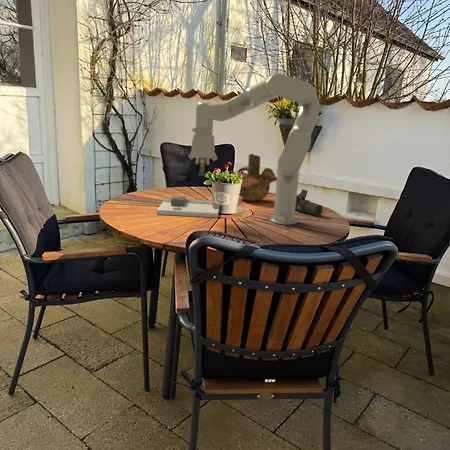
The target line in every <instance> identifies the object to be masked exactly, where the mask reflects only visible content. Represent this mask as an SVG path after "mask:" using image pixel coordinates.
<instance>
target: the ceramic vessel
mask: <svg viewBox="0 0 450 450" xmlns="http://www.w3.org/2000/svg"><path fill="white" fill-rule="evenodd" d="M247 162H248V165H247V166H243V167H241V168H239V169H238V170H237V172H240V171H241V170H243V172H244V171H247V175H245V176H242V177H243V181H242V184H241V190H240V195H239V196H240V197H241V198H242V199H244V200H245V201H247V202H257V201H258V202H259V201H260V200H263V199H265V198H266V197H267V195H268V194H269V192H270V188H271V187H270V184H271V183H273V182H276V181H277V175H276V174H275V173H274V171H273V170H272V168H270V167H269V168H268V167H267V168H264V169H263V170H262V172H261V171H260V170H261V169H260V168H261V156H260V155H257V154H253V153H250V154H248V161H247ZM260 172H261V174H260Z"/></svg>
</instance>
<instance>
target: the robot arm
mask: <svg viewBox="0 0 450 450" xmlns="http://www.w3.org/2000/svg"><path fill="white" fill-rule="evenodd" d="M278 97H280V98H283V99H285V100H288V101H292V102H294V103H297V104H298V107H299V108H298V113H297V116H296V117H295V121H294V123H293V126H292V127H291V130H290V132H289V134H288V136H287V139H286V142H285V144H284V147H283V149H282V152H281V154H280V155H279V156H278V160H277V169H276V177H277V181H275V182H276V183H275V195H274V196H275V197H274V205H273V215H272V216H270V217H269V221H270V222H271V223H273V224H274V223H275V224H279V225H283V226H284V225H286V226H292V225H296V224H297V223H298V221H299V220H298V218H297V217H295V216H296V215H295V214H296V210H295V207H296V197H297V195H298V188H299V176H300V170H301V167H302V165H303V162H304V160H305V158H306V157H307V154H308V151H309V149H310V146H311V143H312V137H311V136H312V133H313V131H314V129H315V127H316V124H317V120H318V118H319V115H320V110H321V109H320V108H321V106H320V100H319V98H318V95H317V94H316V92H315V88H314V86H313V84H311V83H310V82H307V81H305V80H301V79H298V78H295V77H291V76H288V75H286V74H283V73H280V72H277V73H273V74H271V75H270V76H269V77H268V78H266V79H264V80H262V81H260V82H258V83H256V84H254V85H252V86H249V87H248V88H246V89H244V91H243V92H241V93H240V94H238V95H237V96H234V97H233V98H231V99H229V100H227V101H225V102H221V103H218V102H217V103H212V102H198V103H197V104H196V109H195V110H196V111H195V127H194V128H191V131H192V132H193V133H194V134H193V135H192V141H191V142H192V143H191V151H190V152H189V154H188V155H187V156H188V158H189V159H190V160H192V161H193V162H194V164H195V171H196V174H199V159H200V158H206V165H205V175H207V174H208V173H209V171H210V168H209V166H210V164H211V163H212V162H215V161H216V160H218V156H217V153H216V152H215V148H216V147H215V135H213V132H214V131H213V130H214V129H213V128H214V121H218V122H225V121H229V120H230V119H231V120H232V118H235V117H237V116H238V115H241V114H243V113H245V112H247V111H250V110H252V109H255V108H256V107H257V108H258V107H259V106H261V105H263V104H265V103H267V102H270V101H271V100H274V99H276V98H278Z"/></svg>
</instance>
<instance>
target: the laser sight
mask: <svg viewBox="0 0 450 450" xmlns="http://www.w3.org/2000/svg"><path fill="white" fill-rule="evenodd" d="M307 195H308V190H307V189H303V188H302V189H301V191H300V193H299V194H297V197H296V207H295V212H296V211H297V212H299V213H303V214H309V215H312V216H315V217H320V216H321V215H322V214H323V206H322V204H317V203H314V202H311V201H310V200H308V199H306V198H307Z"/></svg>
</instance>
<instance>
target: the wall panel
mask: <svg viewBox="0 0 450 450" xmlns="http://www.w3.org/2000/svg"><path fill="white" fill-rule="evenodd" d="M171 198H172V197H163V201H162V202H161V204H160V205H159V206H158V208H156V215H161V216H163V215H164V216H165V215H166V216H182V217H197V218H198V217H199V218H200V217H201V218H218V217H219V213H218V212H220V209H219V210H218V209H214V208H213V206H212V204H213V199H209V200H208V199H195V198H194V199H193V198H186V201H185V204H184V206H176V205H171Z"/></svg>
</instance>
